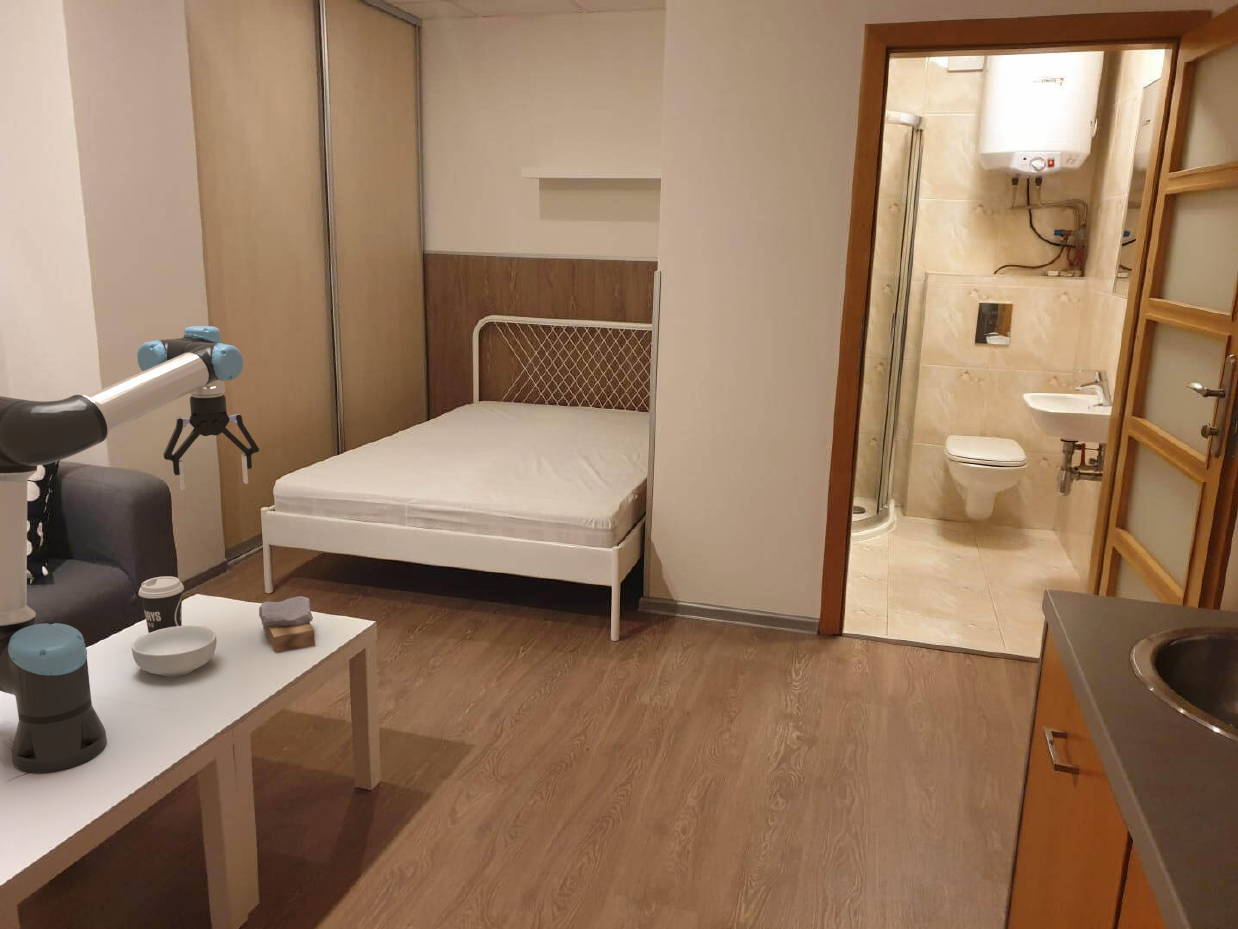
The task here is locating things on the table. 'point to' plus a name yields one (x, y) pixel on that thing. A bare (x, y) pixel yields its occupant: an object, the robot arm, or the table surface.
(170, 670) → the cereal bowl
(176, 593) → the coffee cup
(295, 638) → the walnut plinth
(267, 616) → the stone block
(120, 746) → the table surface
